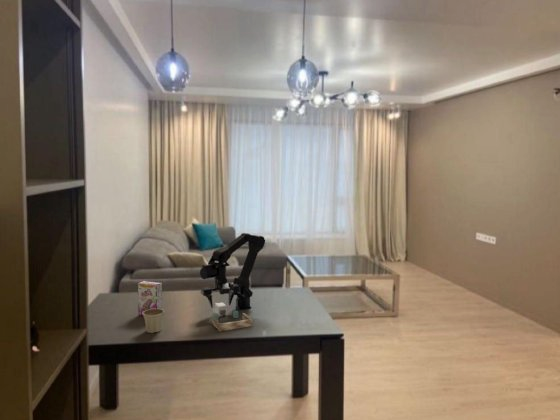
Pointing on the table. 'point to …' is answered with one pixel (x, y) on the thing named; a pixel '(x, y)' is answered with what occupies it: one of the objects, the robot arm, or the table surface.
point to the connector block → (220, 309)
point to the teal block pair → (235, 315)
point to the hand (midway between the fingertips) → (220, 306)
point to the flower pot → (153, 319)
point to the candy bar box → (149, 296)
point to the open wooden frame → (233, 323)
